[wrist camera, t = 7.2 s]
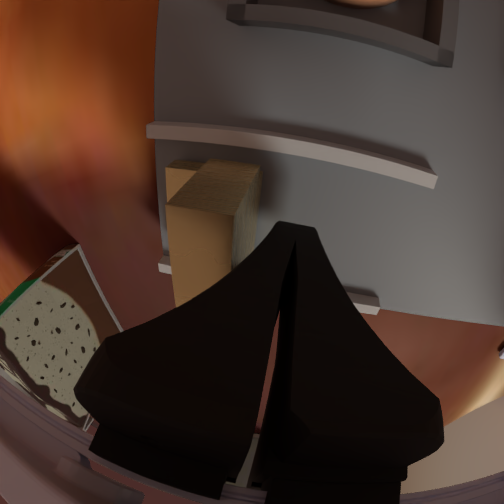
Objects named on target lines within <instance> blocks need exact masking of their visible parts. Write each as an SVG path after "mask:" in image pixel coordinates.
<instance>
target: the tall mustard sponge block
mask: <svg viewBox="0 0 504 504" xmlns="http://www.w3.org/2000/svg"><path fill="white" fill-rule="evenodd" d="M165 172H166V192H167V203H166V204H165V209H166V222H167V234H168V244H169V254H170V263H171V272H172V280H173V288H174V296H175V303H176V307H178V306H180V305H182V304H184V303H185V302H187V301H189V300H191V299H192V298H194V297H195V296H197V295H198V294H200V293H202V292H203V291H205V290H206V289H208V288H209V287H211V286H212V285H214V284H215V283H216V282H218V281H219V280H220V279H222V278H223V277H224V276H226V275H227V274H228V273H229V272H230V271H232V270H233V269H234V268H235V267H236V266H237V265H239V264H240V263H241V262H242V261H243V260H244V259H245V258H246V257H247V256H248V255H249V254H250V253H251V252H252V251H253V250H254V245H255V236H256V228H257V219H258V211H259V202H260V193H261V185H262V176H263V171H260V165H255V164H249V163H242V162H235V161H227V160H220V159H212V158H210V159H209V160H208V161H207V162H206V163H201V162H193V161H184V160H174V161H173V162H172V163H170V164H169V165H168V166H167V167H165Z"/></svg>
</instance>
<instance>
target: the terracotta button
mask: <svg viewBox="0 0 504 504" xmlns="http://www.w3.org/2000/svg"><path fill="white" fill-rule="evenodd" d="M324 1H327V2H329V3H332V4H335V5H339V6H342V7H348V8H354V9H373V8H379V7H383V6H386V5H389V4H392V3H393V2H395V1H397V0H324Z"/></svg>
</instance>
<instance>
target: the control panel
mask: <svg viewBox="0 0 504 504" xmlns="http://www.w3.org/2000/svg"><path fill="white" fill-rule="evenodd" d="M146 136H147V138H151V139H155V159H156V177H157V192H158V205H159V216H160V227H161V236H162V245H163V254H164V255H163V257H162V258H161V260H160V261H159V263H158V265H159V272H164V273H168V274H172V272H171V263H170V254H169V244H168V234H167V222H166V209H165V204H166V203H167V192H166V172H165V167H167V166H168V165H169V164H170V163H172V162H173V161H174V160H184V161H193V162H201V163H206V162H207V161H208V160H209V159H210V158H212V159H220V160H227V161H235V162H242V163H249V164H255V165H260V171H263V176H262V185H261V193H260V202H259V211H258V219H257V228H256V236H255V245H254V249H255V248H256V247H257V246H258V245H259V244H260V243H261V242H262V241H263V239H264V238H265V237H266V236H267V235H268V233H269V232H270V231H271V229H272V228H273V226H274V225H275V223H276V222H278V221H285V222H290V223H295V224H300V225H305V226H311V227H315V229H316V230H317V232H318V235H319V238H320V240H321V243H322V245H323V247H324V250H325V252H326V254H327V256H328V259H329V261H330V263H331V265H332V267H333V269H334V271H335V273H336V275H337V277H338V278H339V280H340V282H341V284H342V286H343V287H344V289H345V291H346V293H347V294H348V296H349V297H350V299H351V301H352V302H353V304H354V305H355V307H356V308H357V310H358V311H359V312H361V313H367V314H373V315H377V313H378V311H379V309H386V310H392V311H398V312H404V313H411V314H417V315H424V316H430V317H437V318H444V319H451V320H458V321H466V322H473V323H481V324H489V325H497V326H504V0H397V1H395V2H393V3H392V4H389V5H386V6H383V7H379V8H373V9H354V8H348V7H342V6H339V5H335V4H332V3H329V2H327V1H324V0H159V7H158V18H157V31H156V48H155V75H154V122H151V123H149V124H147V125H146Z"/></svg>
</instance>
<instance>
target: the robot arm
mask: <svg viewBox="0 0 504 504" xmlns="http://www.w3.org/2000/svg"><path fill="white" fill-rule="evenodd" d="M279 310H280V317H279V329H278V341H277V352H276V360H275V367H274V372H273V377H272V382H271V386H270V391H269V396H268V400H267V405H266V409H265V414H264V418H263V423H262V427H261V431H260V435H259V439H258V443H257V447H256V451H255V455H254V459H253V463H252V467H251V471H250V474H249V478H248V482H247V486H246V488H244V487H239V486H234V485H229V484H225V483H226V482H231V483H236V479H237V477H238V474H239V472H240V471H241V469H242V466H243V464H244V462H245V459H246V457H247V454H248V452H249V449H250V447H251V443H252V439H253V434H254V430H255V426H256V421H257V417H258V412H259V407H260V402H261V397H262V391H263V386H264V381H265V375H266V370H267V364H268V359H269V353H270V348H271V342H272V337H273V331H274V327H275V324H276V320H277V317H278V314H279ZM499 357H500V359H504V348H503V349H502V350H501V351H500V353H499ZM73 390H74V394H75V397H76V399H77V401H78V402H79V403H80V404H81V405H82V406H83V407H84V409H85V410H86V411H87V412H88V413H89V414H90V415H91V416H92V417H93V418H94V419H95V420H96V421H98V422H99V423H100V425H99V427H98V429H97V431H96V434H95V436H93V435H91V434H89V433H87V432H85V431H83V430H81V429H80V428H78V427H76V426H74V425H72V424H71V423H69V422H67V421H66V420H64V419H62V418H60V417H59V416H57V415H56V414H54V413H52V412H51V411H49V410H48V409H46V408H45V407H43V406H42V405H40V404H39V403H37V402H36V401H34V400H33V399H31V398H30V397H28V396H27V395H26V394H24V393H23V392H21V391H20V390H19V389H17V388H16V387H15V386H13V385H12V384H11V383H10V382H8V381H7V380H6V379H5V378H3V377H2V376H1V375H0V494H1V496H2V497H3V498H4V499H5V500H6V502H8V504H142V501H143V499H144V496H145V495H144V493H143V492H140V491H138V490H136V489H133V488H131V487H129V486H126V485H124V484H122V483H120V482H118V481H116V480H113V479H111V478H109V477H107V476H105V475H103V474H101V473H99V472H96V471H94V470H93V469H92V468H91V466H90V462H89V460H88V458H89V459H91V460H93V461H94V462H96V463H98V464H100V465H102V466H104V467H106V468H108V469H110V470H113V471H115V472H117V473H119V474H121V475H124V476H126V477H128V478H130V479H133V480H135V481H137V482H140V483H143V484H145V485H148V486H150V487H153V488H155V489H158V490H161V491H164V492H167V493H170V494H173V495H176V496H179V497H182V498H185V499H189V500H192V501H196V502H199V503H203V504H504V471H503V472H500V473H497V474H494V475H491V476H487V477H484V478H481V479H477V480H474V481H470V482H466V483H462V484H458V485H454V486H449V487H444V488H440V489H435V490H428V491H423V492H415V493H409V494H400V490H401V481H404V480H406V478H407V467H408V466H409V465H411V464H413V463H415V462H417V461H419V460H421V459H423V458H425V457H427V456H429V455H431V454H432V453H434V452H435V451H437V450H438V449H439V448H440V446H441V445H442V444H443V442H444V428H443V416H442V410H441V405H440V400H439V398H438V397H436V396H435V395H434V394H433V393H432V392H431V391H430V390H429V389H428V388H427V387H426V386H424V385H423V384H422V383H421V382H420V381H419V380H418V379H417V378H416V377H415V376H414V375H412V374H411V373H410V372H409V371H408V370H407V369H406V367H405V366H404V365H403V364H402V363H401V362H400V361H399V360H398V359H397V358H396V357H395V356H394V355H393V354H392V353H391V351H390V350H389V349H388V348H387V347H386V346H385V345H384V344H383V342H382V341H381V340H380V339H379V337H378V336H377V335H376V334H375V332H374V331H373V330H372V329H371V327H370V326H369V325H368V324H367V322H366V321H365V320H364V318H363V317H362V316H361V314H360V313H359V311H358V310H357V308H356V307H355V305H354V304H353V302H352V301H351V299H350V297H349V296H348V294H347V293H346V291H345V289H344V287H343V286H342V284H341V282H340V280H339V278H338V277H337V275H336V273H335V271H334V269H333V267H332V265H331V263H330V261H329V259H328V256H327V254H326V252H325V250H324V247H323V245H322V243H321V240H320V238H319V235H318V232H317V230H316V229H315V227H311V226H305V225H300V224H295V223H290V222H285V221H278V222H276V223H275V225H274V226H273V228H272V229H271V231H270V232H269V233H268V235H267V236H266V237H265V238H264V239H263V241H262V242H261V243H260V244H259V245H258V246H257V247H256V248H255V249H254V250H253V251H252V252H251V253H250V254H249V255H248V256H247V257H246V258H245V259H244V260H243V261H242V262H241V263H240V264H239V265H237V266H236V267H235V268H234V269H233V270H232V271H230V272H229V273H228V274H227V275H226V276H224V277H223V278H222V279H220V280H219V281H218V282H216V283H215V284H214V285H212V286H211V287H209V288H208V289H206V290H205V291H203V292H202V293H200V294H198V295H197V296H195V297H194V298H192V299H191V300H189V301H187V302H185V303H184V304H182V305H180V306H178V307H176V308H174V309H172V310H170V311H168V312H166V313H164V314H162V315H160V316H159V317H157V318H155V319H152V320H150V321H148V322H146V323H143V324H141V325H138V326H136V327H133V328H130V329H128V330H125V331H123V332H120V333H117V334H115V335H112V336H109V337H106V338H105V339H104V341H103V342H102V344H101V345H100V346H99V347H98V349H97V350H96V351H95V352H94V354H93V356H92V357H91V359H90V360H89V362H88V364H87V365H86V367H85V369H84V371H83V372H82V374H81V376H80V378H79V380H78V381H77V383H76V385H75V387H74V389H73ZM86 457H87V458H86Z"/></svg>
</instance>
